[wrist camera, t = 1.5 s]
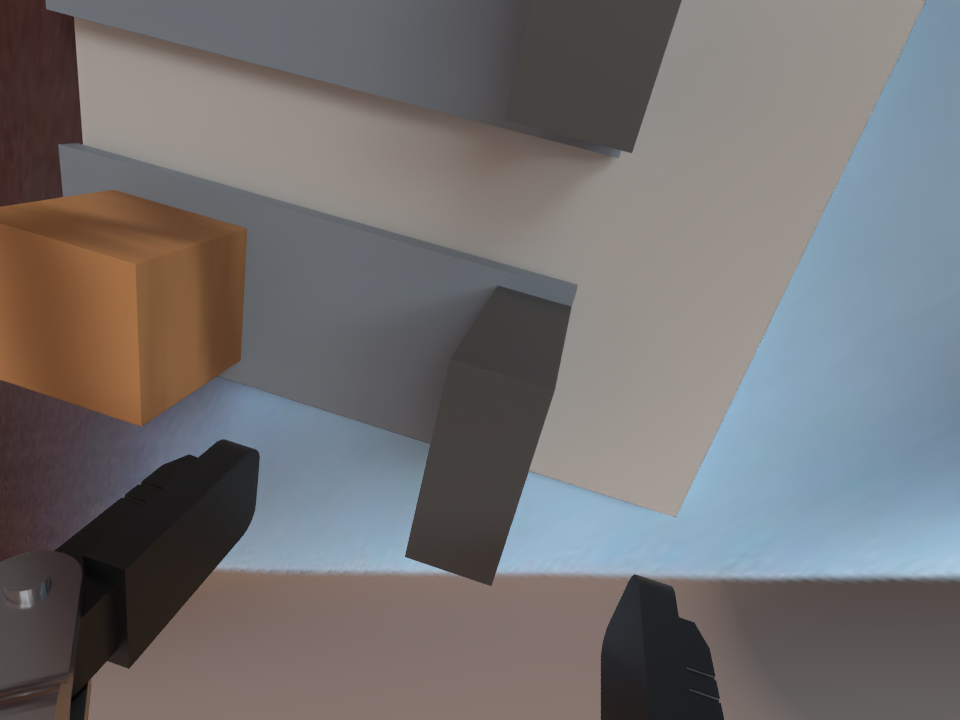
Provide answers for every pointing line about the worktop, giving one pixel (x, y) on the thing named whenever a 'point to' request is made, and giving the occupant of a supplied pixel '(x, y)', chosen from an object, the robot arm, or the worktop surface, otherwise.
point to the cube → (118, 301)
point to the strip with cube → (386, 344)
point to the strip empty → (441, 53)
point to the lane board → (563, 199)
